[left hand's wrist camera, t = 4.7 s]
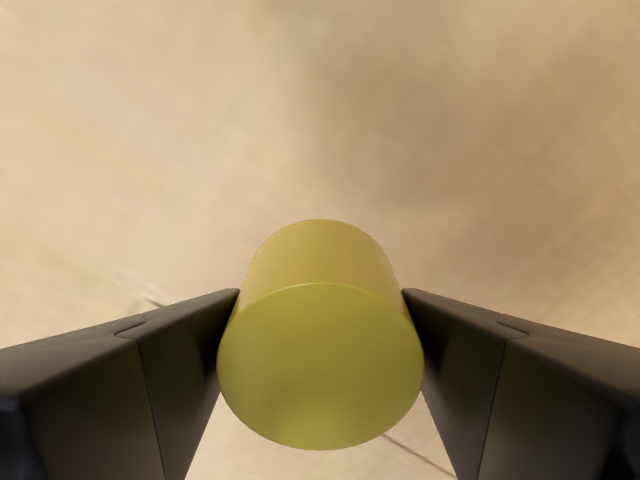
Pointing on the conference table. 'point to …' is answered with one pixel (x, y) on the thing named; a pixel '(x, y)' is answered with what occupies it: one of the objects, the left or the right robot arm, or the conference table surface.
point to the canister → (320, 340)
